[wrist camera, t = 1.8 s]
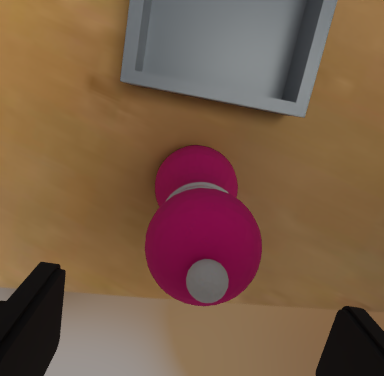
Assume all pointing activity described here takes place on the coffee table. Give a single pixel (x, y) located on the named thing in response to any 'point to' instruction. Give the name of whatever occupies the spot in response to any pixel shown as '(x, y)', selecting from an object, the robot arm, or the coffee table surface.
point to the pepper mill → (201, 230)
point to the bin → (229, 50)
